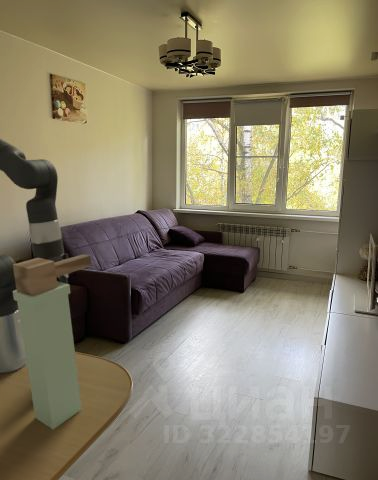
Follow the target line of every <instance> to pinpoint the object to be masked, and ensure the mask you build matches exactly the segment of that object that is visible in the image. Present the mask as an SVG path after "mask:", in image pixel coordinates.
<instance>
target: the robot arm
mask: <svg viewBox="0 0 378 480" xmlns="http://www.w3.org/2000/svg"><path fill="white" fill-rule="evenodd" d="M0 171H1V172H3V173H4V175H6V177H7V178H8V179H10V181H11V183H13V184H15V186H17V187H19V188H20V189H21V188H22V189H25V190H34V189H35V194H34V196H33V197H32V198H30V199H29V200H28V201H27V202H26V204H25V209H26V210H25V211H26V215H27V220H28V227H29V228H28V231H29V239H30V243H31V250H32V254H33V259H35V258H42V259H47V260H51V261H54V262H59V261H62V260H66V259H69V258H70V257H69V253H67V252H66V253H65V249H64V243H63V238H62V237H63V236H62V231H61V225H60V223H59V218H58V212H57V207H56V200H57V191H58V182H59V181H58V177H59V176H58V172H57V169H56V167H55V165H54V164H53V163H52V162H51V161H50V160H47V159H43V158H42V159H41V158H40V159H27V157H26V155H25V153H24V152H23V151H22V150H21V149H19V148H18V147H16V146H14V145H13V144H11V143H9V142H7V141H5V140H3V139H1V138H0ZM13 264H17V263H16V262H15V260H14V259H13V257H12V256H10V255H8V254H0V373H2V374H3V373H10V372H14V371H16V370H19V369H21V368H23V367H25V365H27V361H26V355H25V348H24V342H23V335H22V329H21V322H20V316H19V309H18V303H17V301H16V300H14V296H13V291H15V290H17V289H16V282H15V276H14V269H13ZM70 274H72V272H71V273H68V274H65V275H62V276H59V277H58V282H62V283H65V284H69V280H68V278H69V275H70Z"/></svg>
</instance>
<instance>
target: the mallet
mask: <svg viewBox="0 0 378 480" xmlns="http://www.w3.org/2000/svg"><path fill="white" fill-rule="evenodd" d="M91 266H92V259H91V255H89V254H80V255H77V256H74V257H73V256H71V257H69V259H66V260H62V261H59V262H54V261H51V260H47V259H42V258H32V259H28V260H23V261H21V262H17V263H16V264H13V269H14V276H15V282H16V289H17V291H18V292H21V293H24V294H27V295H30V296H35V295H38V294H41V293H44V292H47V291H49V290H52V289H55V288H58V286H57V281H58V280H57V279H58V278H59V276H62V275H65V274H68V273H71V274H72V273H74V272H77V271H80V270H82V269H86V268H90V267H91Z"/></svg>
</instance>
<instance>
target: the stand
mask: <svg viewBox="0 0 378 480" xmlns="http://www.w3.org/2000/svg"><path fill="white" fill-rule="evenodd" d="M57 286H58V288H55V289H52V290H49V291H47V292H44V293H41V294H38V295H35V296H30V295H27V294H24V293H21V292H18V291H17V290H15V291H13V296H14V300H16V301H17V303H18V309H19V316H20V322H21V329H22V335H23V342H24V348H25V355H26V361H27V363H26V367H27V373H28V381H29V386H30V392H31V398H32V406H33V411H34V417H35V419H36V420H37V421H39V422H41V423H42V424H44V425H45V426H47V427H48V428H50V429H51V430H55V429H56V428H57V427H59V426H60V425H61V424H63V423H64V422H66V421H67V420H69V419H70V418H72V417H73V416H74V415H76V414H77V413H79V412H81V411H82V410H83V409H82V401H81V399H82V398H81V393H80V391H81V390H80V384H79V375H78V367H77V358H76V349H75V343H74V342H75V341H74V335H73V326H72V317H71V308H70V302H69V295H70V294H71V287H70V286H71V285H70V284H69V283H68V284H65V283H62V282H59V280H57Z"/></svg>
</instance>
